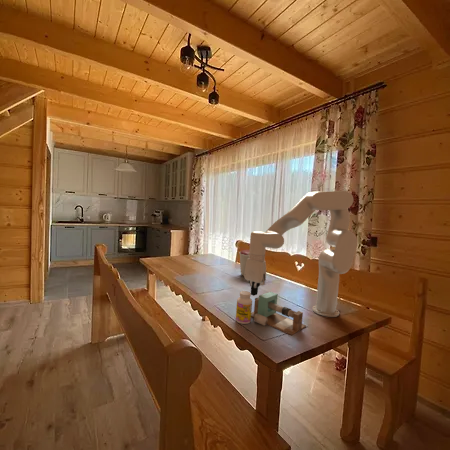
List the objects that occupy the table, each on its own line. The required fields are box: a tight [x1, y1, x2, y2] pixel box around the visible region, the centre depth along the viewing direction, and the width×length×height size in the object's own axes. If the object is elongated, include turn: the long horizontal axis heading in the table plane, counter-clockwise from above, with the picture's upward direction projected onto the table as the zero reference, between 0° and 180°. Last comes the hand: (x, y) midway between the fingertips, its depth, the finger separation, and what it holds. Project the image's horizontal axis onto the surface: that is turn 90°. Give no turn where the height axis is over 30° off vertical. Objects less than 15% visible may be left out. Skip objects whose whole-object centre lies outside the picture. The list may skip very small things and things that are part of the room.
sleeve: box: [253, 313, 268, 327], centre depth 113 cm, size 4×5×4 cm
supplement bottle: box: [235, 290, 253, 325], centre depth 113 cm, size 7×7×13 cm
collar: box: [258, 291, 279, 317], centre depth 119 cm, size 9×4×9 cm, turn 135°
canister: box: [238, 249, 250, 277], centre depth 185 cm, size 18×18×21 cm
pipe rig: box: [251, 296, 307, 336], centre depth 116 cm, size 12×23×8 cm, turn 45°
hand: (253, 294), depth 125 cm, fingers closed
